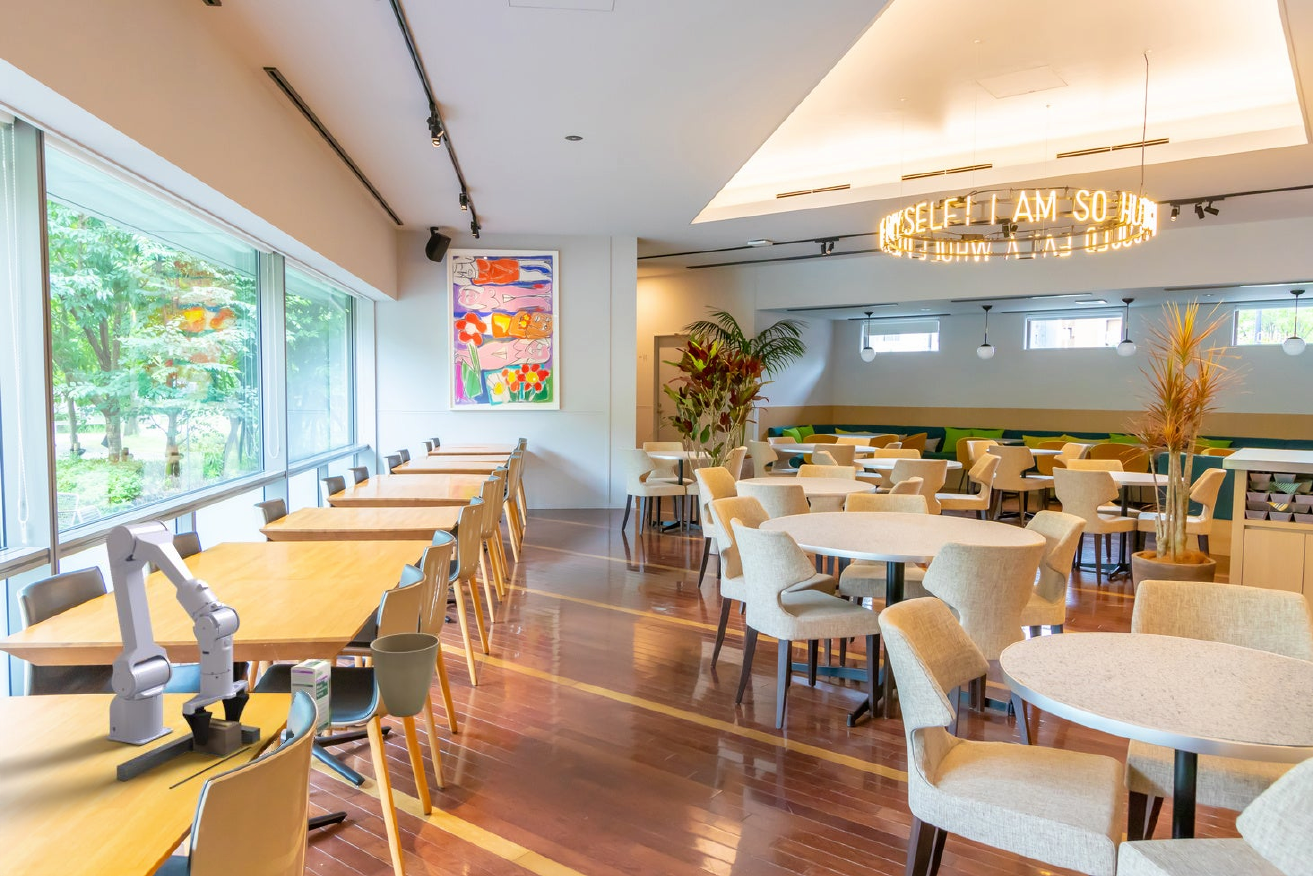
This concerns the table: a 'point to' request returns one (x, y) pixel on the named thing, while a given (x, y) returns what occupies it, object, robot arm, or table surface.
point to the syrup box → (314, 687)
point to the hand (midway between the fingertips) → (216, 737)
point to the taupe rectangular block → (221, 737)
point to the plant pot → (404, 670)
